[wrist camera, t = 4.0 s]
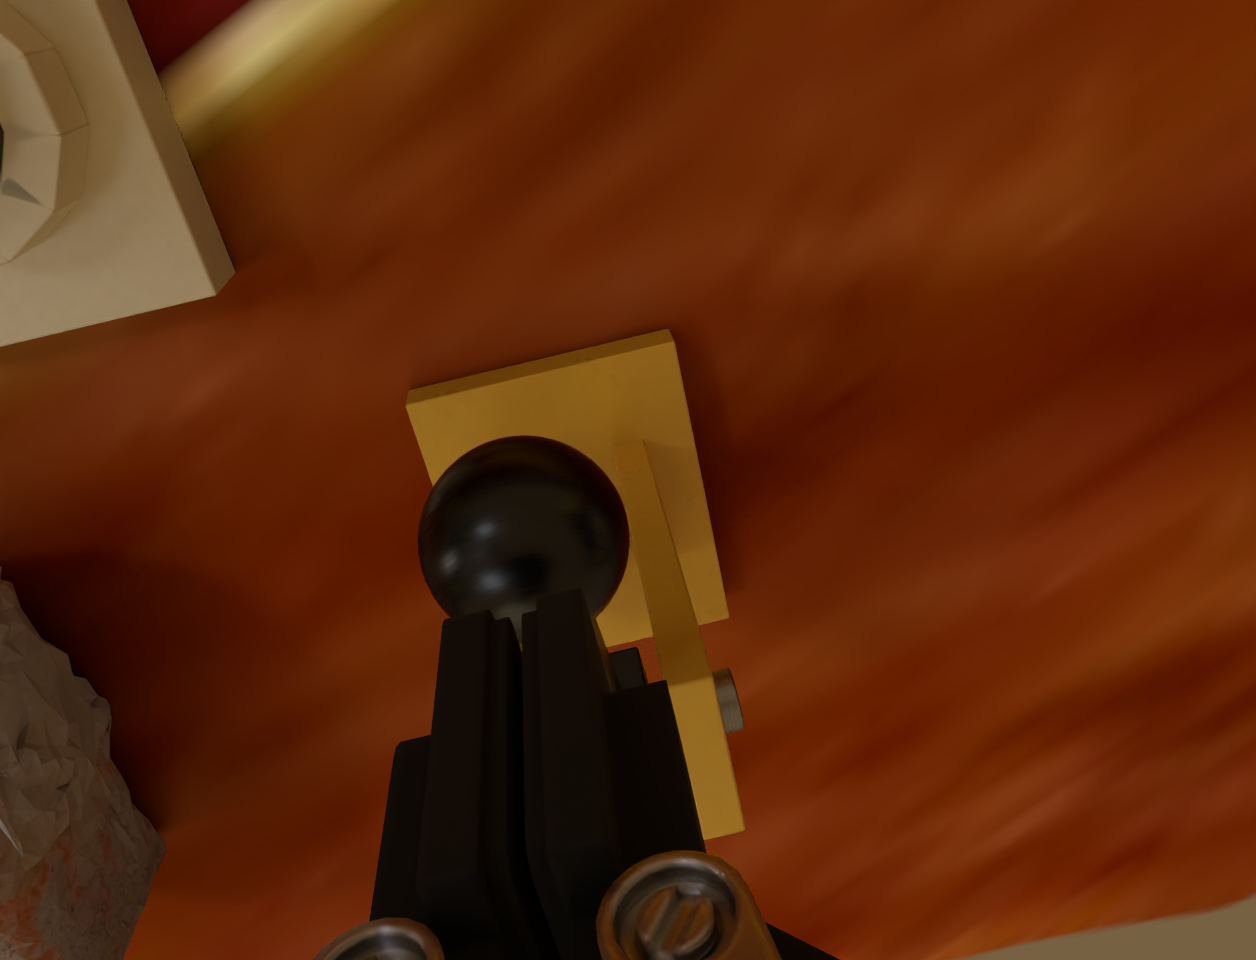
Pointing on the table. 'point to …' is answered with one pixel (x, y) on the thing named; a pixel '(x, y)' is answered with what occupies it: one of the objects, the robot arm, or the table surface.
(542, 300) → the table surface
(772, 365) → the table surface
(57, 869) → the food item
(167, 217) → the control block
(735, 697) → the lever bracket
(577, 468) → the press lever
